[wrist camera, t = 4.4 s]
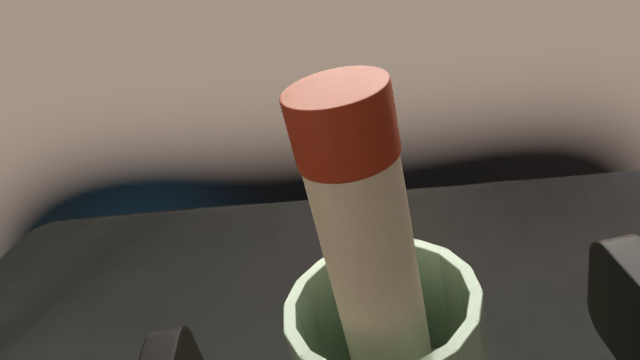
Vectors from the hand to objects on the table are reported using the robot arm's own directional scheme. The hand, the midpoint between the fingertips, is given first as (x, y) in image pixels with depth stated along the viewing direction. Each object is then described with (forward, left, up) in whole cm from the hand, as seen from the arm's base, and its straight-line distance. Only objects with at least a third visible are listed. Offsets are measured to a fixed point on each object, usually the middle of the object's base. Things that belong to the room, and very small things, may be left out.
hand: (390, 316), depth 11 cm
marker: (-4, -10, -17) cm, 20 cm away
